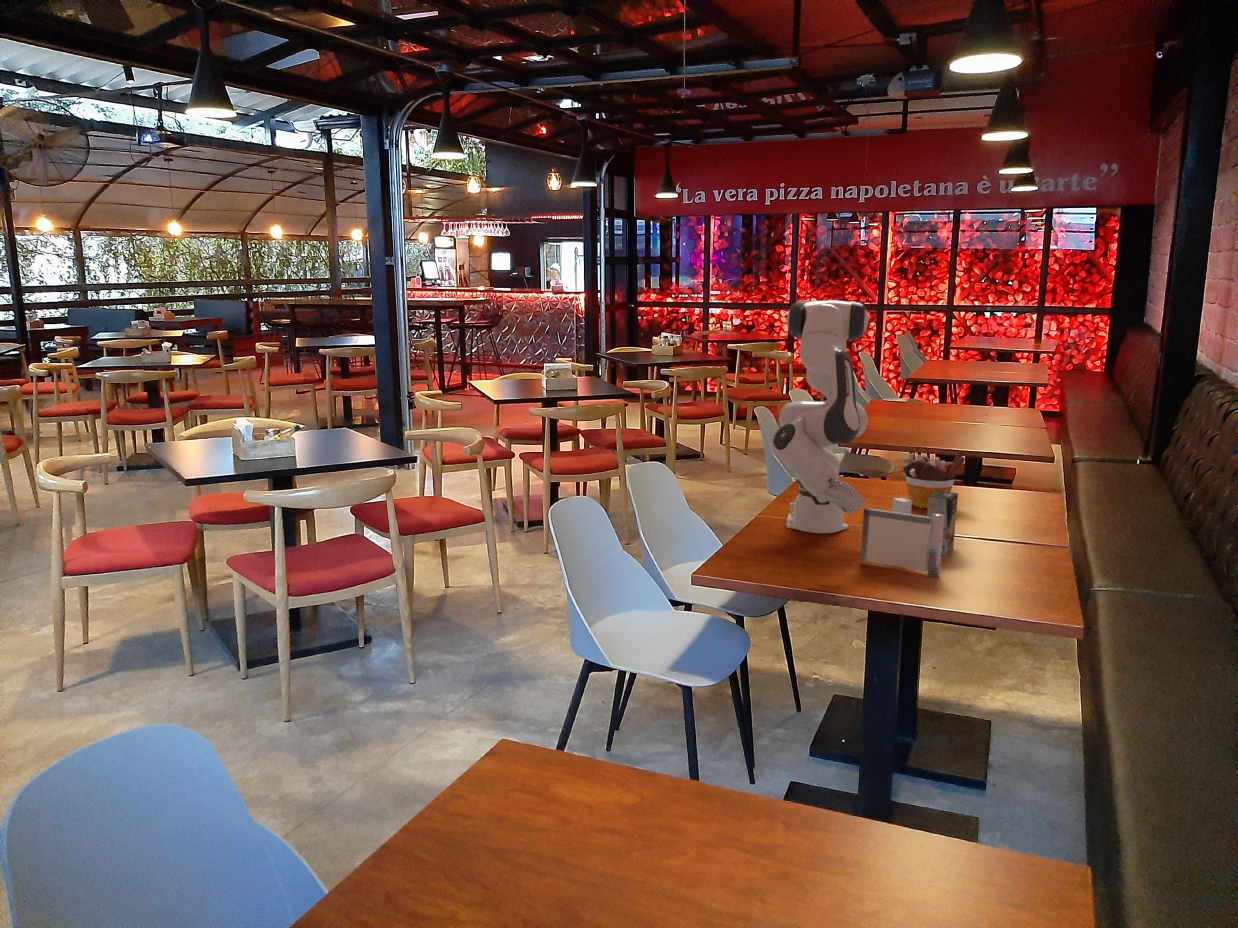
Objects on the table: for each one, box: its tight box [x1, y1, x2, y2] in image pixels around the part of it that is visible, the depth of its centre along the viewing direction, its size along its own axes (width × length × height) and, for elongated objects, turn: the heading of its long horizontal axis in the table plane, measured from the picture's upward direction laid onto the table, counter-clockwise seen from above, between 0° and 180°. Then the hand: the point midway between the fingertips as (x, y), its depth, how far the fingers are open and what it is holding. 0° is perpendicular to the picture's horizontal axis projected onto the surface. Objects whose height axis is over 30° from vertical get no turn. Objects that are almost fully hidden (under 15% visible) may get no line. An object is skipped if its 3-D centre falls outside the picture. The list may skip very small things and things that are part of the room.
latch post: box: [891, 497, 913, 514], centre depth 245 cm, size 4×3×16 cm
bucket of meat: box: [902, 450, 966, 510], centre depth 304 cm, size 20×16×20 cm
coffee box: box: [926, 491, 959, 556], centre depth 252 cm, size 9×6×16 cm
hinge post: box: [926, 513, 944, 578], centre depth 229 cm, size 3×3×16 cm
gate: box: [860, 507, 931, 572], centre depth 234 cm, size 17×2×14 cm, turn 56°
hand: (849, 510), depth 233 cm, fingers closed
